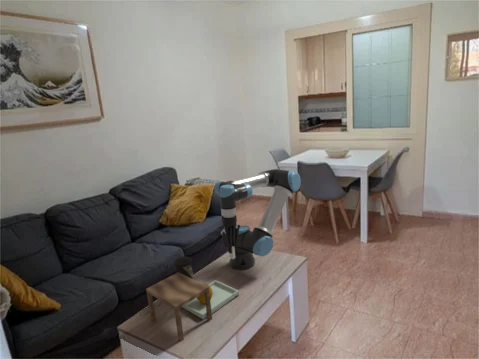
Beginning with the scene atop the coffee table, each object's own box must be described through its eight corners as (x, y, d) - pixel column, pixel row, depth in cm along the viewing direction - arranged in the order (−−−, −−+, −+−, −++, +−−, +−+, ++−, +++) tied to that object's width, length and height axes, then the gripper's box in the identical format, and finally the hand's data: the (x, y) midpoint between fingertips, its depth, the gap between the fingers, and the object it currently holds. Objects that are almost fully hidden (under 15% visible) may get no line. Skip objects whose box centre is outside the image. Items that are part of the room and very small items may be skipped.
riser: (182, 301, 167) (178, 272, 163) (212, 319, 152) (208, 286, 148) (151, 320, 154) (146, 288, 150) (180, 341, 139) (176, 306, 136)
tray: (215, 284, 180) (215, 280, 179) (238, 295, 169) (238, 290, 168) (180, 306, 163) (179, 301, 162) (203, 319, 152) (202, 314, 151)
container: (195, 297, 169) (191, 262, 165) (177, 299, 169) (172, 263, 164) (196, 288, 178) (192, 254, 173) (179, 290, 177) (174, 255, 173)
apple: (192, 302, 164) (190, 286, 162) (206, 294, 169) (204, 279, 167) (202, 309, 158) (200, 292, 156) (216, 301, 163) (215, 285, 161)
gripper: (232, 210, 176) (235, 251, 182) (214, 217, 167) (218, 260, 173) (243, 212, 171) (246, 255, 177) (225, 220, 162) (228, 264, 168)
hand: (232, 257), depth 175 cm, fingers closed
